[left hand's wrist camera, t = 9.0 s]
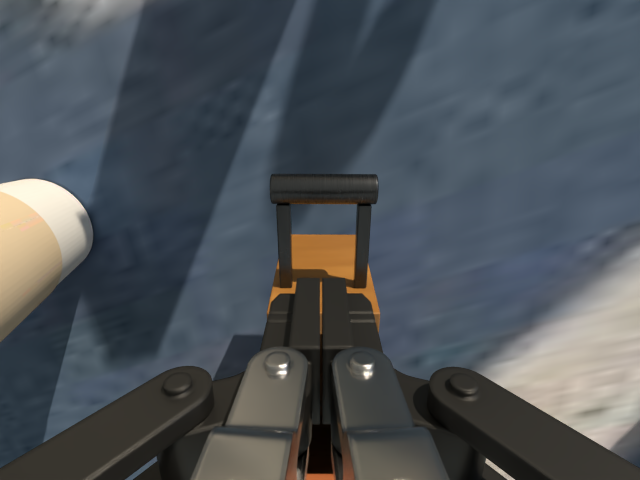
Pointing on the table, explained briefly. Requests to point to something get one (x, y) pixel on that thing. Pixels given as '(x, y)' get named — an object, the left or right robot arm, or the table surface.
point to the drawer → (324, 259)
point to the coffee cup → (37, 245)
